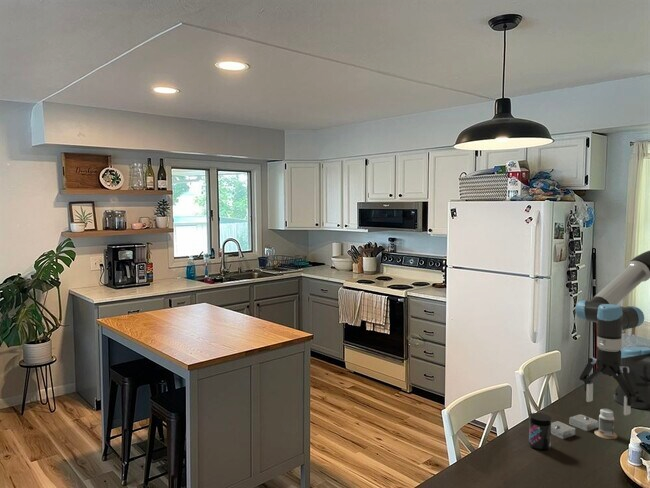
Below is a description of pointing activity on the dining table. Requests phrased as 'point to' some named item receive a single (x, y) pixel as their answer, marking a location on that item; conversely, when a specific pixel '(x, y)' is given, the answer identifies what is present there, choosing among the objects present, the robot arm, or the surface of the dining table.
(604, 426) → the pill bottle
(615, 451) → the dining table surface
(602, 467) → the dining table surface
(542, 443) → the supplement container
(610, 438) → the cork coaster
